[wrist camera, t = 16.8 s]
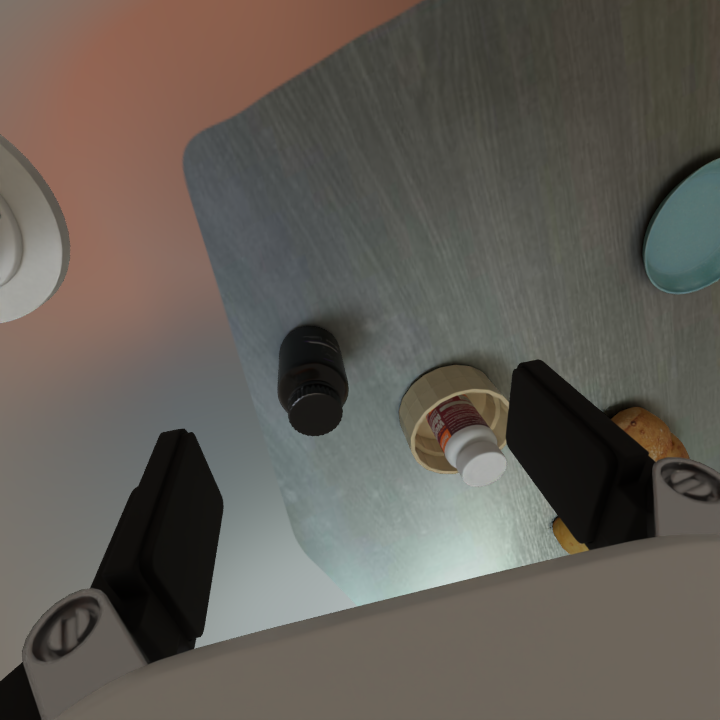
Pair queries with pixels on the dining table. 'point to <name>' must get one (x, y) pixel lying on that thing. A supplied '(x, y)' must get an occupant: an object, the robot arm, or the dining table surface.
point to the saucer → (686, 234)
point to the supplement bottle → (312, 380)
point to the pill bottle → (467, 441)
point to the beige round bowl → (438, 390)
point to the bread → (649, 436)
